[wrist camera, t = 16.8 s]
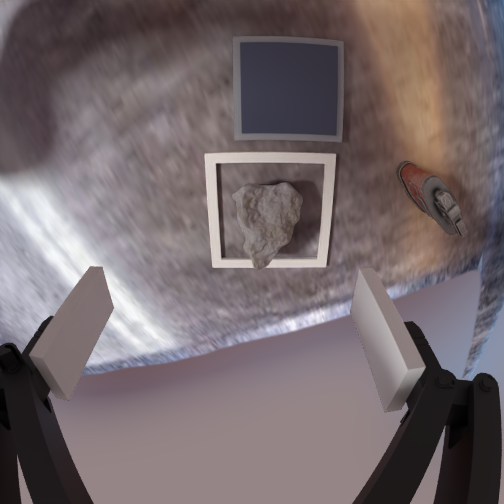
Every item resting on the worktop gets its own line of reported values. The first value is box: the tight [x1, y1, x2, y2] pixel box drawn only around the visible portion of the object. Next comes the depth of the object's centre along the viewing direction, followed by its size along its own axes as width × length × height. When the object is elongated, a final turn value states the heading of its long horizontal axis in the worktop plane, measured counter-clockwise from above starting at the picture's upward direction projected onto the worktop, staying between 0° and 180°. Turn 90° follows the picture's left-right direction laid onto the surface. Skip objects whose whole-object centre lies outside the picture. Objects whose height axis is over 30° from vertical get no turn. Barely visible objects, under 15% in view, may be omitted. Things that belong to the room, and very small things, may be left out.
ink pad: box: [233, 36, 344, 143], centre depth 30 cm, size 12×12×1 cm
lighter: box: [397, 161, 468, 237], centre depth 31 cm, size 8×3×10 cm, turn 45°
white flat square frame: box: [205, 152, 336, 268], centre depth 38 cm, size 15×15×1 cm
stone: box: [232, 182, 303, 270], centre depth 36 cm, size 10×8×6 cm
